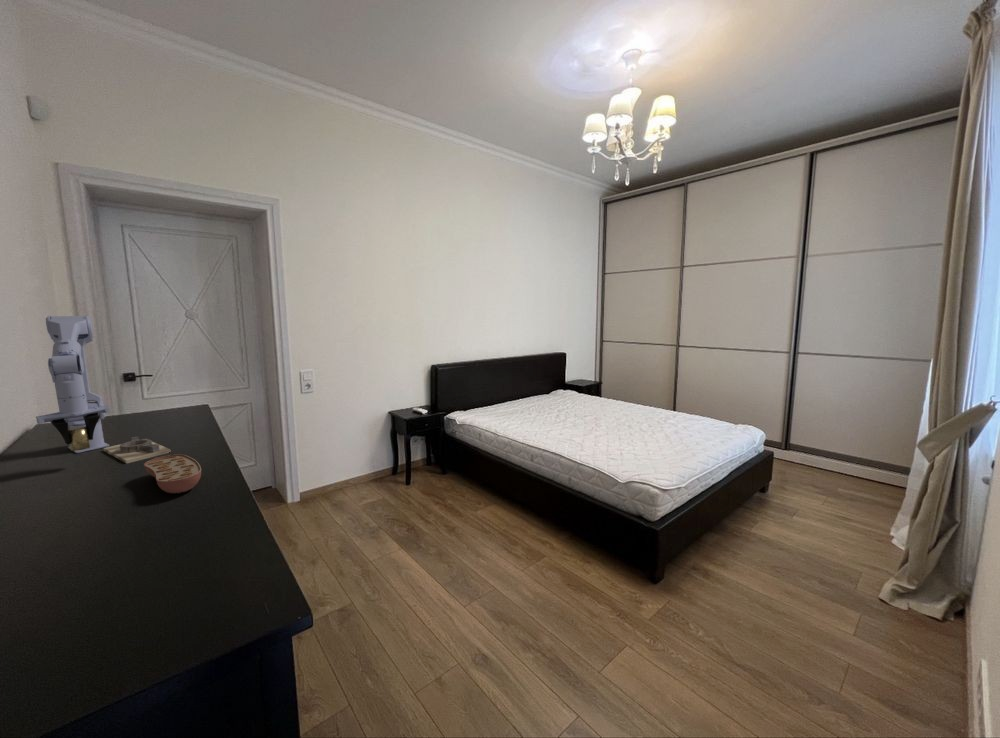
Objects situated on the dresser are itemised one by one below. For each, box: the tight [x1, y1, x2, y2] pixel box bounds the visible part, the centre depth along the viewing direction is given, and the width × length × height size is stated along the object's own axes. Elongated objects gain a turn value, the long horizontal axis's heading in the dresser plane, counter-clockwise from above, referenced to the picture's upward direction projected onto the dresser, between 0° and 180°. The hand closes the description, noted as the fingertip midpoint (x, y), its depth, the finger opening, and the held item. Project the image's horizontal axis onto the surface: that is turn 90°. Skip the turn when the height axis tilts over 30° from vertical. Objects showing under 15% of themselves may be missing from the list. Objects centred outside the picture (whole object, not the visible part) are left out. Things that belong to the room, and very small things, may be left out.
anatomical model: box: [143, 453, 202, 494], centre depth 107 cm, size 23×10×5 cm, turn 51°
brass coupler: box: [68, 427, 90, 452], centre depth 117 cm, size 4×4×6 cm
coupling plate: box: [103, 436, 171, 464], centre depth 130 cm, size 20×11×3 cm, turn 59°
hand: (79, 441), depth 117 cm, fingers closed on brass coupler, 4 cm apart
